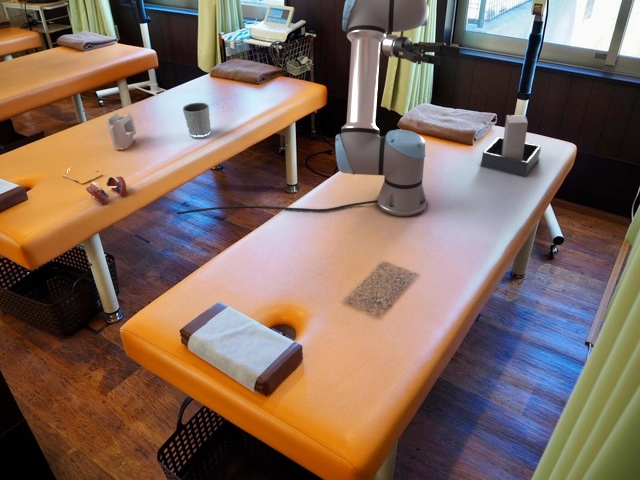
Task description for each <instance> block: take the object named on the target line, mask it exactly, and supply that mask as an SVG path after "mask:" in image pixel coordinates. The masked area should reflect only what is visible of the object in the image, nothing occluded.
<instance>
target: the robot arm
mask: <svg viewBox="0 0 640 480" xmlns="http://www.w3.org/2000/svg"><path fill="white" fill-rule="evenodd" d="M429 12H430V5H429V4H428V1H427V0H345V2H344V6H343V11H342V13H343V14H342V24H341V25H342V31H343V32H345V33H346V38H347V39H348V40H349V41H350V43H351V47H350V64H349V80H348V96H347V109H346V111H347V112H346V122H345V124H344V125H343V126H341V128H340V129H341V130H340V133H337V134H336V135H335V141H334V145H335V147H334V148H335V158H336V166H337V168H338V171H340V173H342V174H348V175H349V174H350V175H353V176H355V175H362V176H363V175H365V176H382V177H383V176H384V178H383V183H382V186H381V187H380V190H379V192H378V195H377V199H374V200H369V201H361V202H354V203H348V204H344V205H339V206H334V207H329V208H328V207H327V208H306V207H289V206H288V207H287V206H270V205H269V206H267V205H229V206H227V205H225V206H216V207H215V206H214V207H205V208H198V209H197V208H196V209H190V210H183V211H177V212H176V215H183V214H189V213H191V214H192V213H197V212H206V211H215V210H216V211H217V210H228V209H266V210H283V211H284V210H285V211H300V212H301V211H304V212H329V211H335V210H340V209H343V208H349V207H355V206H361V205H362V206H363V205H368V204H369V205H370V204H376V205H377V207H378V208H379V210H381V212H383V213H386V214H388V215H391V216H394V217H413V216H417V215H419V214H421V213H422V212H424V211H425V209H426V207H427V195H426V193H425V189H424V184H423V181H424V180H423V179H424V166H425V157H426V155H427V152H426V141H425V139H424V137H422V136H421V135H420V134H418V133H416V132H414V131H411V130H406V129H394V130H393V129H392V130H389V131H388V132H387V133H386V135H384V136H383V135H381V136H380V133H381V130H380V128H378V127H377V125H376V117H377V102H378V101H377V100H378V87H379V86H378V85H379V68H380V55H381V56H386V57H389V58H390V59H391V58H397V59H401V60H407V61H408V62H410V63H413V64H417V65H421V64H422V63H425V64H429V65H435V66H440V65H441V56H439V55H434V54H430V53H441V54H443V55H444V54H445V55H451V56H456V57H459V56H460V54H461V47H458V46H453V45H447V44H446V42H445V41H443V42H432V41H431V42H430V41H427V42H426V41H418V42H412V39H411V38H410V37H408V36H402V35H397V34H391V33H400V32H401V33H402V32H406V31H411V30H414V29H417V28H419V27H426V26H427V25H428V23H429ZM428 53H429V54H428Z"/></svg>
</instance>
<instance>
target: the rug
mask: <svg viewBox="0 0 640 480" xmlns="http://www.w3.org/2000/svg"><path fill="white" fill-rule="evenodd" d="M381 270H382V271H381ZM376 274H377V276H376ZM416 275H417V272H415V271H410V270H408V269H406V268H404V267H402V266H398V265H396V264H391V263H389V262H387V261H386V260H383V262H382V263H380V265H378V266H377V267H376V268H375V269H374V271H371V273H369V276H368V279H364V280H363V283H360V284H359V285H358V286H356V288H355V290H352V293H350V294H349V295H348V297H347V298H346V299H345V300H344V302H346V303H347V304H349V303H350V305H352V306H355V307H358V308H359V309H362V310H365V311H367V312H371V314H372V315H376V316H378V317H379V316H380V315H381V314H382V313H383V312H384V310H386V308H388V305H390V304H391V303H392V302H393V300H394V299H395V298H397V297H398V296H399V294H400V293H401V292H402V291H403V289H404V288H405V287H406V286H407V285H409V282H410V281H412V279H413V276H416ZM409 279H410V280H409ZM362 289H363V290H362ZM353 293H356V294H354V295H353ZM387 293H388V294H387ZM355 299H356V300H355Z"/></svg>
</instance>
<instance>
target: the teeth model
mask: <svg viewBox="0 0 640 480" xmlns="http://www.w3.org/2000/svg"><path fill="white" fill-rule="evenodd" d="M106 186H107V187H109V186H117V187H116V188H113V189H112V190H113V191H115V193H116V194H118V195H120V196H121V197H122V196H127V183H126V180H125V179H124V177H123V176H110V177H108V179H107V181H106ZM85 190H86V191H87V193H88V194H89V193H90V194H91V195H92V196H94V197H95V198H96V199H95V198H94V199H95V200H96V201H97V202H99V203H100V204H102V205H105V204H106V203H107V201H108V197H109V194H108V193H107V192H105V190H104V189H103V187H102V186H101V185H100V184H99V183H98V182H96V181H93V182H91V183H90V185H89V186H87V187H86V188H85ZM90 194H89V195H90ZM91 195H90V196H91ZM92 196H91V197H92ZM97 199H98V200H99V201H98V200H97Z"/></svg>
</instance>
